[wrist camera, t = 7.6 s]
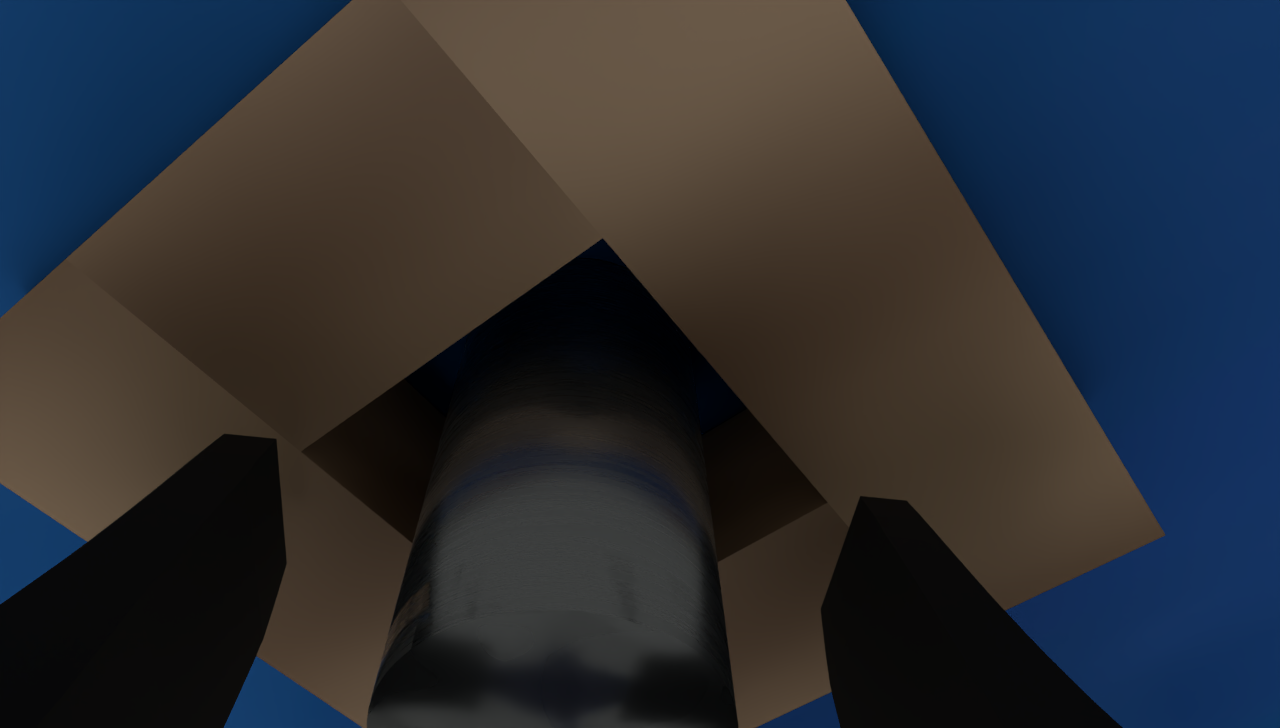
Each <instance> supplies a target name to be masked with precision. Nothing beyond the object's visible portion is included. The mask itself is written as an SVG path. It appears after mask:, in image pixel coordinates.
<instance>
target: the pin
mask: <svg viewBox="0 0 1280 728" xmlns="http://www.w3.org/2000/svg"><path fill="white" fill-rule="evenodd" d="M367 728H738V718H737V711H736V703H735V695H734V687H733V679H732V671H731V663H730V656H729V648H728V640H727V632H726V624H725V616H724V609H723V601H722V593H721V585H720V577H719V569H718V562H717V554H716V546H715V538H714V530H713V522H712V515H711V507H710V499H709V491H708V483H707V475H706V467H705V460H704V452H703V444H702V436H701V428H700V420H699V413H698V405H697V397H696V389H695V381H694V373H693V366H692V358H691V350H690V343H689V339H688V338H687V336H686V335H685V334H684V333H683V332H682V330H681V329H680V328H679V327H678V326H677V325H676V323H675V322H674V321H673V320H672V319H671V318H670V316H669V315H668V314H667V313H666V312H665V310H664V309H663V308H662V307H661V306H660V305H659V303H658V302H657V301H656V300H655V299H654V298H653V296H652V295H651V294H650V293H649V292H648V290H647V289H646V288H645V287H644V286H643V285H642V283H641V282H640V281H639V280H638V279H637V278H636V276H635V275H634V274H633V273H632V272H631V270H629V269H627V268H625V267H622V266H619V265H616V264H613V263H610V262H605V261H600V260H595V259H583V258H574V259H572V260H571V261H570V262H568V263H567V264H565V265H564V266H563V267H561V268H560V269H558V270H557V271H556V272H554V273H553V274H551V275H550V276H548V277H547V278H546V279H544V280H543V281H541V282H540V283H539V284H537V285H536V286H534V287H533V288H531V289H530V290H529V291H527V292H526V293H524V294H523V295H522V296H520V297H519V298H517V299H516V300H514V301H513V302H512V303H510V304H509V305H507V306H506V307H505V308H503V309H502V310H500V311H499V312H498V313H496V314H495V315H493V316H492V317H490V318H489V319H488V320H486V321H485V322H483V323H482V324H481V325H479V326H478V327H476V328H475V329H473V330H472V331H471V332H469V334H468V338H467V341H466V345H465V349H464V352H463V356H462V360H461V364H460V367H459V371H458V375H457V379H456V382H455V386H454V390H453V394H452V397H451V401H450V405H449V409H448V412H447V416H446V420H445V424H444V427H443V431H442V435H441V438H440V442H439V446H438V450H437V453H436V457H435V461H434V465H433V468H432V472H431V476H430V480H429V483H428V487H427V491H426V495H425V498H424V502H423V506H422V510H421V513H420V517H419V521H418V525H417V528H416V532H415V536H414V539H413V543H412V547H411V551H410V554H409V558H408V562H407V566H406V569H405V573H404V577H403V581H402V584H401V588H400V592H399V596H398V599H397V603H396V607H395V611H394V614H393V618H392V622H391V625H390V629H389V633H388V637H387V640H386V644H385V648H384V652H383V655H382V659H381V663H380V667H379V670H378V674H377V678H376V682H375V685H374V689H373V693H372V697H371V700H370V704H369V709H368V716H367Z"/></svg>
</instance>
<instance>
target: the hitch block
mask: <svg viewBox="0 0 1280 728" xmlns="http://www.w3.org/2000/svg"><path fill="white" fill-rule="evenodd" d="M602 238H603V239H604V240H605V241H606V242H607V243H608V245H609V246H610V247H611V248H612V249H613V250H614V252H615V253H616V254H617V255H618V256H619V258H620V259H621V260H622V261H623V262H624V263H625V265H626V266H627V267H628V268H629V269H630V270H631V272H632V273H633V274H634V275H635V276H636V278H637V279H638V280H639V281H640V282H641V283H642V285H643V286H644V287H645V288H646V289H647V290H648V292H649V293H650V294H651V295H652V296H653V298H654V299H655V300H656V301H657V302H658V303H659V305H660V306H661V307H662V308H663V309H664V310H665V312H666V313H667V314H668V315H669V316H670V318H671V319H672V320H673V321H674V322H675V323H676V325H677V326H678V327H679V328H680V329H681V330H682V332H683V333H684V334H685V335H686V336H687V338H688V339H689V340H690V341H691V342H692V343H693V345H694V346H695V347H696V348H697V349H698V350H699V352H700V353H701V354H702V355H703V356H704V358H705V359H706V360H707V361H708V362H709V363H710V365H711V366H712V367H713V368H714V369H715V370H716V372H717V373H718V374H719V375H720V376H721V378H722V379H723V380H724V381H725V382H726V383H727V385H728V386H729V387H730V388H731V389H732V390H733V392H734V393H735V394H736V395H737V396H738V398H739V399H740V400H741V401H742V402H743V403H744V405H745V406H746V407H747V408H748V409H746V410H744V411H743V412H741V413H739V414H738V415H736V416H734V417H733V418H731V419H729V420H727V421H726V422H724V423H722V424H721V425H719V426H717V427H716V428H714V429H712V430H711V431H709V432H707V433H706V434H704V435H702V444H703V452H704V460H705V467H706V475H707V483H708V491H709V499H710V507H711V515H712V522H713V530H714V538H715V546H716V554H717V562H718V569H719V577H720V585H721V593H722V601H723V609H724V616H725V624H726V632H727V640H728V648H729V656H730V663H731V671H732V679H733V687H734V695H735V703H736V711H737V718H738V728H755V727H758V726H760V725H762V724H764V723H766V722H768V721H770V720H773V719H775V718H777V717H779V716H781V715H783V714H785V713H787V712H790V711H792V710H794V709H796V708H798V707H800V706H802V705H805V704H807V703H809V702H811V701H813V700H815V699H817V698H819V697H822V696H824V695H826V694H828V693H830V692H832V691H831V687H830V681H829V674H828V667H827V660H826V653H825V645H824V636H823V627H822V618H821V606H822V604H823V601H824V598H825V595H826V592H827V589H828V586H829V584H830V581H831V578H832V575H833V572H834V569H835V566H836V564H837V561H838V558H839V555H840V552H841V549H842V546H843V544H844V541H845V538H846V535H847V532H848V529H849V526H850V524H851V521H852V518H853V515H854V512H855V509H856V506H857V504H858V501H859V498H860V496H866V497H876V498H886V499H896V500H907V501H908V502H909V504H910V505H911V506H912V507H913V508H914V509H915V510H916V511H917V512H918V513H919V514H920V515H921V517H922V518H923V519H924V520H925V521H926V522H927V523H928V524H929V526H930V527H931V528H932V529H933V530H934V531H935V532H936V534H937V535H938V536H939V537H940V538H941V539H942V540H943V542H944V543H945V544H946V545H947V546H948V547H949V548H950V550H951V551H952V552H953V553H954V554H955V555H956V556H957V558H958V559H959V560H960V561H961V562H962V563H963V564H964V566H965V567H966V568H967V569H968V570H969V571H970V572H971V574H972V575H973V576H974V577H975V578H976V579H977V580H978V582H979V583H980V584H981V585H982V586H983V587H984V588H985V589H986V590H987V592H988V593H989V594H990V595H991V596H992V597H993V598H994V599H995V601H996V602H997V603H998V604H999V605H1000V606H1001V607H1002V608H1003V609H1004V610H1007V609H1009V608H1011V607H1013V606H1016V605H1018V604H1020V603H1022V602H1024V601H1026V600H1028V599H1030V598H1033V597H1035V596H1037V595H1039V594H1041V593H1043V592H1045V591H1048V590H1050V589H1052V588H1054V587H1056V586H1058V585H1060V584H1062V583H1065V582H1067V581H1069V580H1071V579H1073V578H1075V577H1077V576H1080V575H1082V574H1084V573H1086V572H1088V571H1090V570H1092V569H1094V568H1097V567H1099V566H1101V565H1103V564H1105V563H1107V562H1109V561H1111V560H1114V559H1116V558H1118V557H1120V556H1122V555H1124V554H1126V553H1129V552H1131V551H1133V550H1135V549H1137V548H1139V547H1141V546H1143V545H1146V544H1148V543H1150V542H1152V541H1154V540H1156V539H1158V538H1161V537H1163V536H1165V534H1164V532H1163V530H1162V529H1161V527H1160V525H1159V524H1158V522H1157V520H1156V519H1155V517H1154V515H1153V514H1152V512H1151V510H1150V509H1149V507H1148V505H1147V504H1146V502H1145V500H1144V499H1143V497H1142V495H1141V493H1140V492H1139V490H1138V488H1137V487H1136V485H1135V483H1134V482H1133V480H1132V478H1131V477H1130V475H1129V473H1128V472H1127V470H1126V468H1125V467H1124V465H1123V463H1122V462H1121V460H1120V458H1119V457H1118V455H1117V453H1116V452H1115V450H1114V448H1113V447H1112V445H1111V443H1110V442H1109V440H1108V438H1107V437H1106V435H1105V433H1104V432H1103V430H1102V428H1101V427H1100V425H1099V423H1098V422H1097V420H1096V418H1095V417H1094V415H1093V413H1092V412H1091V410H1090V408H1089V407H1088V405H1087V403H1086V401H1085V400H1084V398H1083V396H1082V395H1081V393H1080V391H1079V390H1078V388H1077V386H1076V385H1075V383H1074V381H1073V380H1072V378H1071V376H1070V375H1069V373H1068V371H1067V370H1066V368H1065V366H1064V365H1063V363H1062V361H1061V360H1060V358H1059V356H1058V355H1057V353H1056V351H1055V350H1054V348H1053V346H1052V345H1051V343H1050V341H1049V340H1048V338H1047V336H1046V335H1045V333H1044V331H1043V330H1042V328H1041V326H1040V325H1039V323H1038V321H1037V320H1036V318H1035V316H1034V315H1033V313H1032V311H1031V309H1030V308H1029V306H1028V304H1027V303H1026V301H1025V299H1024V298H1023V296H1022V294H1021V293H1020V291H1019V289H1018V288H1017V286H1016V284H1015V283H1014V281H1013V279H1012V278H1011V276H1010V274H1009V273H1008V271H1007V269H1006V268H1005V266H1004V264H1003V263H1002V261H1001V259H1000V258H999V256H998V254H997V253H996V251H995V249H994V248H993V246H992V244H991V243H990V241H989V239H988V238H987V236H986V234H985V233H984V231H983V229H982V228H981V226H980V224H979V223H978V221H977V219H976V217H975V216H974V214H973V212H972V211H971V209H970V207H969V206H968V204H967V202H966V201H965V199H964V197H963V196H962V194H961V192H960V191H959V189H958V187H957V186H956V184H955V182H954V181H953V179H952V177H951V176H950V174H949V172H948V171H947V169H946V167H945V166H944V164H943V162H942V161H941V159H940V157H939V156H938V154H937V152H936V151H935V149H934V147H933V146H932V144H931V142H930V141H929V139H928V137H927V136H926V134H925V132H924V131H923V129H922V127H921V125H920V124H919V122H918V120H917V119H916V117H915V115H914V114H913V112H912V110H911V109H910V107H909V105H908V104H907V102H906V100H905V99H904V97H903V95H902V94H901V92H900V90H899V89H898V87H897V85H896V84H895V82H894V80H893V79H892V77H891V75H890V74H889V72H888V70H887V69H886V67H885V65H884V64H883V62H882V60H881V59H880V57H879V55H878V54H877V52H876V50H875V49H874V47H873V45H872V44H871V42H870V40H869V39H868V37H867V35H866V33H865V32H864V30H863V28H862V27H861V25H860V23H859V22H858V20H857V18H856V17H855V15H854V13H853V12H852V10H851V8H850V7H849V5H848V3H847V2H846V0H352V1H351V2H350V3H349V4H348V5H346V6H345V7H344V8H343V9H342V10H341V11H340V12H339V13H338V14H336V15H335V16H334V17H333V18H332V19H331V20H330V21H329V22H328V23H326V24H325V25H324V26H323V27H322V28H321V29H320V30H319V31H318V32H317V33H315V34H314V35H313V36H312V37H311V38H310V39H309V40H308V41H307V42H305V43H304V44H303V45H302V46H301V47H300V48H299V49H298V50H297V51H295V52H294V53H293V54H292V55H291V56H290V57H289V58H288V59H287V60H286V61H284V62H283V63H282V64H281V65H280V66H279V67H278V68H277V69H276V70H274V71H273V72H272V73H271V74H270V75H269V76H268V77H267V78H266V79H265V80H263V81H262V82H261V83H260V84H259V85H258V86H257V87H256V88H255V89H253V90H252V91H251V92H250V93H249V94H248V95H247V96H246V97H245V98H243V99H242V100H241V101H240V102H239V103H238V104H237V105H236V106H235V107H234V108H232V109H231V110H230V111H229V112H228V113H227V114H226V115H225V116H224V117H222V118H221V119H220V120H219V121H218V122H217V123H216V124H215V125H214V126H212V127H211V128H210V129H209V130H208V131H207V132H206V133H205V134H204V135H203V136H201V137H200V138H199V139H198V140H197V141H196V142H195V143H194V144H193V145H191V146H190V147H189V148H188V149H187V150H186V151H185V152H184V153H183V154H181V155H180V156H179V157H178V158H177V159H176V160H175V161H174V162H173V163H172V164H170V165H169V166H168V167H167V168H166V169H165V170H164V171H163V172H162V173H160V174H159V175H158V176H157V177H156V178H155V179H154V180H153V181H152V182H151V183H149V184H148V185H147V186H146V187H145V188H144V189H143V190H142V191H141V192H139V193H138V194H137V195H136V196H135V197H134V198H133V199H132V200H131V201H129V202H128V203H127V204H126V205H125V206H124V207H123V208H122V209H121V210H120V211H118V212H117V213H116V214H115V215H114V216H113V217H112V218H111V219H110V220H108V221H107V222H106V223H105V224H104V225H103V226H102V227H101V228H100V229H98V230H97V231H96V232H95V233H94V234H93V235H92V236H91V237H90V238H89V239H87V240H86V241H85V242H84V243H83V244H82V245H81V246H80V247H79V248H77V249H76V250H75V251H74V252H73V253H72V254H71V255H70V256H69V257H67V258H66V259H65V260H64V261H63V262H62V263H61V264H60V265H59V266H58V267H56V268H55V269H54V270H53V271H52V272H51V273H50V274H49V275H48V276H46V277H45V278H44V279H43V280H42V281H41V282H40V283H39V284H38V285H36V286H35V287H34V288H33V289H32V290H31V291H30V292H29V293H28V294H27V295H25V296H24V297H23V298H22V299H21V300H20V301H19V302H18V303H17V304H15V305H14V306H13V307H12V308H11V309H10V310H9V311H8V312H7V313H6V314H4V315H3V316H2V317H1V318H0V483H1V484H2V485H4V486H5V487H7V488H8V489H10V490H11V491H13V492H14V493H16V494H17V495H19V496H20V497H22V498H23V499H25V500H26V501H28V502H29V503H31V504H32V505H34V506H35V507H37V508H38V509H40V510H41V511H42V512H44V513H45V514H47V515H48V516H50V517H51V518H53V519H54V520H56V521H57V522H59V523H60V524H62V525H63V526H65V527H66V528H68V529H69V530H71V531H72V532H74V533H75V534H77V535H78V536H80V537H81V538H83V539H84V540H85V541H87V542H88V541H89V540H91V539H92V538H93V537H95V536H96V535H97V534H98V533H100V532H101V531H102V530H104V529H105V528H106V527H107V526H109V525H110V524H111V523H113V522H114V521H115V520H117V519H118V518H119V517H120V516H122V515H123V514H124V513H126V512H127V511H128V510H129V509H131V508H132V507H133V506H135V505H136V504H137V503H138V502H139V501H141V500H142V499H143V498H144V497H146V496H147V495H148V494H149V493H151V492H152V491H153V490H154V489H156V488H157V487H158V486H159V485H161V484H162V483H163V482H164V481H165V480H167V479H168V478H169V477H170V476H172V475H173V474H174V473H175V472H176V471H178V470H179V469H180V468H181V467H183V466H184V465H185V464H186V463H187V462H189V461H190V460H191V459H192V458H194V457H195V456H196V455H197V454H199V453H200V452H201V451H202V450H204V449H205V448H206V447H207V446H209V445H210V444H211V443H213V442H214V441H215V440H216V439H218V438H219V437H220V436H222V435H223V434H233V435H244V436H254V437H264V438H274V439H277V450H278V462H279V474H280V487H281V499H282V511H283V523H284V535H285V547H286V559H287V565H286V568H285V571H284V575H283V578H282V581H281V585H280V588H279V591H278V595H277V598H276V601H275V605H274V608H273V611H272V614H271V617H270V620H269V623H268V626H267V629H266V632H265V636H264V639H263V641H262V643H261V646H260V648H259V650H258V653H257V655H256V656H257V657H259V658H260V659H262V660H263V661H265V662H266V663H268V664H269V665H271V666H272V667H274V668H275V669H277V670H278V671H280V672H281V673H283V674H284V675H286V676H287V677H289V678H290V679H292V680H293V681H295V682H296V683H298V684H299V685H300V686H302V687H303V688H305V689H306V690H308V691H309V692H311V693H312V694H314V695H315V696H317V697H318V698H320V699H321V700H323V701H324V702H326V703H327V704H329V705H330V706H332V707H333V708H335V709H336V710H338V711H339V712H341V713H342V714H343V715H345V716H346V717H348V718H349V719H351V720H352V721H354V722H355V723H357V724H358V725H360V726H361V727H363V728H367V716H368V709H369V704H370V700H371V697H372V693H373V689H374V685H375V682H376V678H377V674H378V670H379V667H380V663H381V659H382V655H383V652H384V648H385V644H386V640H387V637H388V633H389V629H390V625H391V622H392V618H393V614H394V611H395V607H396V603H397V599H398V596H399V592H400V588H401V584H402V581H403V577H404V573H405V569H406V566H407V562H408V558H409V554H410V551H411V547H412V543H413V539H414V536H415V532H416V528H417V525H418V521H419V517H420V513H421V510H422V506H423V502H424V498H425V495H426V491H427V487H428V483H429V480H430V476H431V472H432V468H433V465H434V461H435V457H436V453H437V450H438V446H439V442H440V438H441V435H442V431H443V427H444V424H445V420H446V417H445V416H444V415H442V414H441V413H440V412H439V411H438V410H437V409H436V408H435V407H434V406H433V405H432V404H431V403H430V402H428V401H427V400H426V399H425V398H424V397H423V396H422V395H421V394H420V393H419V392H418V391H417V390H415V389H414V388H413V387H412V386H411V385H410V384H409V383H408V382H407V381H406V380H405V379H404V378H406V377H407V376H408V375H410V374H411V373H413V372H414V371H415V370H417V369H418V368H420V367H421V366H423V365H424V364H425V363H427V362H428V361H430V360H431V359H432V358H434V357H435V356H437V355H438V354H439V353H441V352H442V351H444V350H445V349H447V348H448V347H449V346H451V345H452V344H454V343H455V342H456V341H458V340H459V339H461V338H462V337H464V336H465V335H466V334H468V333H469V332H471V331H472V330H473V329H475V328H476V327H478V326H479V325H481V324H482V323H483V322H485V321H486V320H488V319H489V318H490V317H492V316H493V315H495V314H496V313H498V312H499V311H500V310H502V309H503V308H505V307H506V306H507V305H509V304H510V303H512V302H513V301H514V300H516V299H517V298H519V297H520V296H522V295H523V294H524V293H526V292H527V291H529V290H530V289H531V288H533V287H534V286H536V285H537V284H539V283H540V282H541V281H543V280H544V279H546V278H547V277H548V276H550V275H551V274H553V273H554V272H556V271H557V270H558V269H560V268H561V267H563V266H564V265H565V264H567V263H568V262H570V261H571V260H572V259H574V258H575V257H577V256H578V255H580V254H581V253H582V252H584V251H585V250H587V249H588V248H589V247H591V246H592V245H594V244H595V243H597V242H598V241H599V240H601V239H602Z"/></svg>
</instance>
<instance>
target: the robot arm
mask: <svg viewBox="0 0 1280 728" xmlns="http://www.w3.org/2000/svg"><path fill="white" fill-rule="evenodd" d="M286 565H287V559H286V547H285V535H284V523H283V511H282V499H281V487H280V474H279V462H278V450H277V439H274V438H264V437H254V436H244V435H233V434H223V435H222V436H220V437H219V438H218V439H216V440H215V441H214V442H213V443H211V444H210V445H209V446H207V447H206V448H205V449H204V450H202V451H201V452H200V453H199V454H197V455H196V456H195V457H194V458H192V459H191V460H190V461H189V462H187V463H186V464H185V465H184V466H183V467H181V468H180V469H179V470H178V471H176V472H175V473H174V474H173V475H172V476H170V477H169V478H168V479H167V480H165V481H164V482H163V483H162V484H161V485H159V486H158V487H157V488H156V489H154V490H153V491H152V492H151V493H149V494H148V495H147V496H146V497H144V498H143V499H142V500H141V501H139V502H138V503H137V504H136V505H135V506H133V507H132V508H131V509H129V510H128V511H127V512H126V513H124V514H123V515H122V516H120V517H119V518H118V519H117V520H115V521H114V522H113V523H111V524H110V525H109V526H107V527H106V528H105V529H104V530H102V531H101V532H100V533H98V534H97V535H96V536H95V537H93V538H92V539H91V540H89V541H88V542H87V543H86V544H84V545H83V546H82V547H80V548H79V549H78V550H76V551H75V552H74V553H72V554H71V555H70V556H68V557H67V558H65V559H64V560H63V561H61V562H60V563H58V564H57V565H56V566H54V567H53V568H51V569H50V570H49V571H47V572H46V573H44V574H43V575H41V576H40V577H39V578H37V579H36V580H34V581H33V582H32V583H30V584H29V585H27V586H26V587H25V588H23V589H22V590H20V591H19V592H17V593H16V594H15V595H13V596H12V597H10V598H9V599H8V600H6V601H5V602H3V603H2V604H0V728H224V726H225V723H226V721H227V719H228V717H229V715H230V712H231V710H232V708H233V706H234V704H235V702H236V699H237V697H238V695H239V693H240V690H241V688H242V686H243V684H244V682H245V679H246V677H247V675H248V673H249V671H250V668H251V666H252V664H253V662H254V659H255V657H256V655H257V653H258V650H259V648H260V646H261V643H262V641H263V639H264V636H265V632H266V629H267V626H268V623H269V620H270V617H271V614H272V611H273V608H274V605H275V601H276V598H277V595H278V591H279V588H280V585H281V581H282V578H283V575H284V571H285V568H286ZM821 618H822V627H823V636H824V645H825V653H826V660H827V667H828V674H829V681H830V687H831V691H832V695H833V699H834V703H835V707H836V711H837V715H838V719H839V723H840V727H841V728H1122V727H1121V726H1120V725H1119V724H1118V723H1117V722H1116V721H1114V720H1113V719H1112V718H1111V717H1110V716H1109V715H1108V714H1107V713H1106V712H1105V711H1104V710H1103V709H1101V708H1100V707H1099V706H1098V705H1097V704H1096V703H1095V702H1094V701H1093V700H1092V699H1091V698H1090V697H1089V696H1088V695H1087V694H1086V693H1085V692H1084V691H1083V690H1082V689H1081V688H1080V687H1079V686H1077V685H1076V684H1075V683H1074V682H1073V681H1072V680H1071V679H1070V678H1069V677H1068V676H1067V675H1066V674H1065V673H1064V672H1063V671H1062V670H1061V669H1060V668H1059V667H1058V666H1057V665H1056V664H1055V663H1054V662H1053V661H1052V660H1051V659H1050V658H1049V657H1048V656H1047V655H1046V654H1045V653H1044V652H1043V651H1042V650H1041V649H1040V648H1039V647H1038V645H1037V644H1036V643H1035V642H1034V641H1033V640H1032V639H1031V638H1030V637H1029V636H1028V635H1027V634H1026V633H1025V632H1024V631H1023V630H1022V629H1021V628H1020V627H1019V626H1018V624H1017V623H1016V622H1015V621H1014V620H1013V619H1012V618H1011V617H1010V616H1009V615H1008V614H1007V613H1006V611H1005V610H1004V609H1003V608H1002V607H1001V606H1000V605H999V604H998V603H997V602H996V601H995V599H994V598H993V597H992V596H991V595H990V594H989V593H988V592H987V590H986V589H985V588H984V587H983V586H982V585H981V584H980V583H979V582H978V580H977V579H976V578H975V577H974V576H973V575H972V574H971V572H970V571H969V570H968V569H967V568H966V567H965V566H964V564H963V563H962V562H961V561H960V560H959V559H958V558H957V556H956V555H955V554H954V553H953V552H952V551H951V550H950V548H949V547H948V546H947V545H946V544H945V543H944V542H943V540H942V539H941V538H940V537H939V536H938V535H937V534H936V532H935V531H934V530H933V529H932V528H931V527H930V526H929V524H928V523H927V522H926V521H925V520H924V519H923V518H922V517H921V515H920V514H919V513H918V512H917V511H916V510H915V509H914V508H913V507H912V506H911V505H910V504H909V502H908V501H907V500H896V499H886V498H876V497H866V496H860V498H859V501H858V504H857V506H856V509H855V512H854V515H853V518H852V521H851V524H850V526H849V529H848V532H847V535H846V538H845V541H844V544H843V546H842V549H841V552H840V555H839V558H838V561H837V564H836V566H835V569H834V572H833V575H832V578H831V581H830V584H829V586H828V589H827V592H826V595H825V598H824V601H823V604H822V606H821Z"/></svg>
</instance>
